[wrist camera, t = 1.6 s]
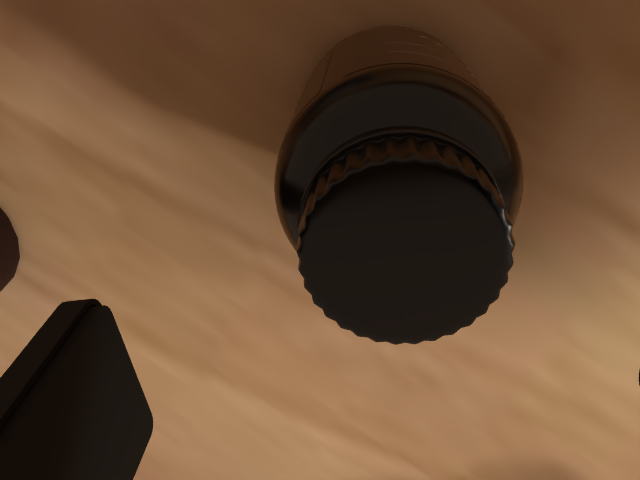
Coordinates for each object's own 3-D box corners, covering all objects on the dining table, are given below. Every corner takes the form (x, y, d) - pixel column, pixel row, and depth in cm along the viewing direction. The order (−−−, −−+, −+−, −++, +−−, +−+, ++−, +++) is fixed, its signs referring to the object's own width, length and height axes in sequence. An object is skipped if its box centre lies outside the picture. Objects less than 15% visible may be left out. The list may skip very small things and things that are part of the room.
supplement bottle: (418, 217, 25) (448, 422, 15) (276, 146, 24) (199, 311, 14) (512, 74, 22) (635, 204, 12) (353, -13, 21) (330, 40, 11)
